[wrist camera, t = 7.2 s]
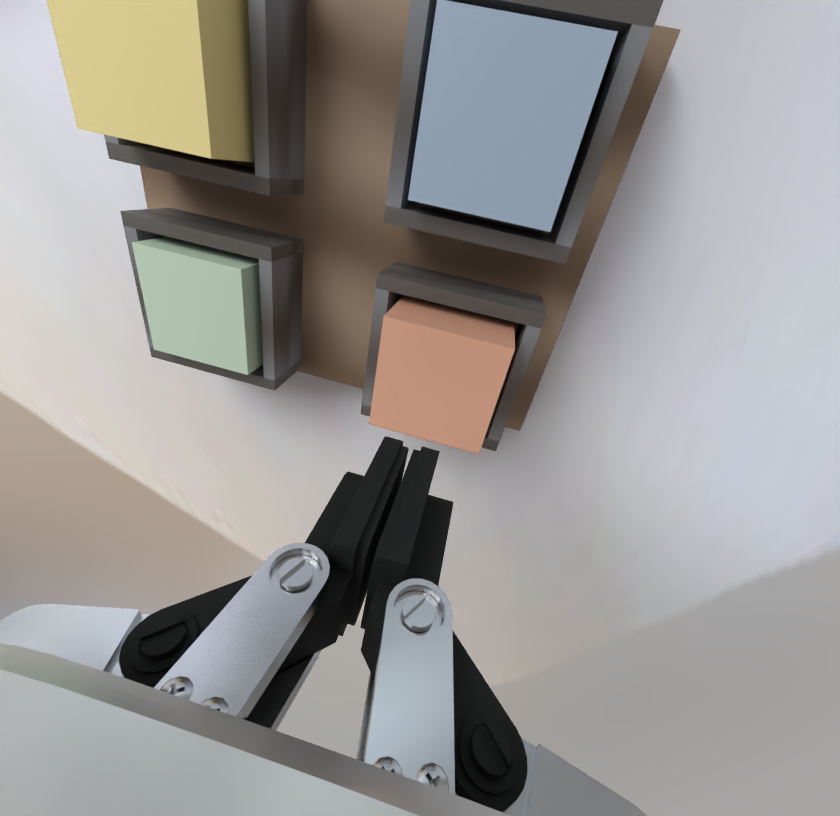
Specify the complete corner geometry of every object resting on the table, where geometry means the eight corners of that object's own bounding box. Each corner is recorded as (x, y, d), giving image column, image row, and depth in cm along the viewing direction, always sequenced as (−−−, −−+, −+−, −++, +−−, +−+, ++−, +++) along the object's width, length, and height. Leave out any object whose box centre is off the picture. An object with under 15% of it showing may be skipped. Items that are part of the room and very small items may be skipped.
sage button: (187, 233, 20) (131, 242, 17) (281, 256, 19) (240, 269, 16) (199, 328, 22) (153, 349, 20) (282, 350, 22) (248, 375, 19)
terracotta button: (404, 294, 18) (383, 315, 15) (514, 321, 17) (514, 349, 14) (389, 390, 20) (369, 423, 18) (483, 415, 20) (478, 454, 17)
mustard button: (125, -36, 14) (24, -94, 11) (259, -11, 13) (190, -64, 10) (152, 137, 17) (77, 128, 14) (264, 163, 16) (211, 158, 13)
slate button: (452, 36, 14) (437, -1, 11) (595, 63, 13) (617, 32, 11) (425, 197, 17) (408, 199, 14) (543, 223, 16) (550, 232, 13)
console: (139, -49, 16) (9, -130, 12) (661, 47, 15) (722, -8, 10) (193, 326, 25) (129, 355, 21) (519, 413, 24) (521, 462, 19)
